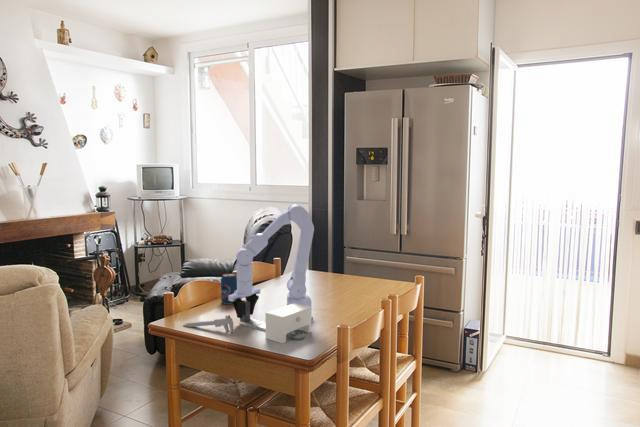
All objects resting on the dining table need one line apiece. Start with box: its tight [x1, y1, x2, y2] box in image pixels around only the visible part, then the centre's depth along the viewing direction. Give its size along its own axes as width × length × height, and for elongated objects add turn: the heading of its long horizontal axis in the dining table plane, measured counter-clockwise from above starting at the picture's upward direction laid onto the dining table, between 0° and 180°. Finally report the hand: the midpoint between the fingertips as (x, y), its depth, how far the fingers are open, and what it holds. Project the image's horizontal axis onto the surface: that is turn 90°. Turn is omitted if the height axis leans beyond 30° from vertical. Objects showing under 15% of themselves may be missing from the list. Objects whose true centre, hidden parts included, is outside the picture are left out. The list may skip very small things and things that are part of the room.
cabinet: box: [265, 303, 312, 344], centre depth 172 cm, size 15×9×9 cm, turn 142°
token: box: [289, 330, 306, 341], centre depth 170 cm, size 5×5×2 cm
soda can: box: [220, 272, 237, 305], centre depth 212 cm, size 7×7×12 cm
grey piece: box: [239, 299, 266, 332], centre depth 181 cm, size 5×16×8 cm, turn 52°
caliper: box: [182, 314, 234, 333], centre depth 178 cm, size 20×1×6 cm, turn 71°
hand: (245, 316), depth 185 cm, fingers open, 5 cm apart
